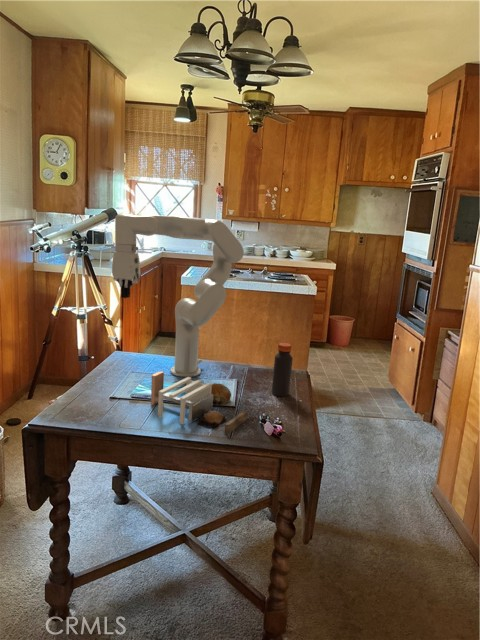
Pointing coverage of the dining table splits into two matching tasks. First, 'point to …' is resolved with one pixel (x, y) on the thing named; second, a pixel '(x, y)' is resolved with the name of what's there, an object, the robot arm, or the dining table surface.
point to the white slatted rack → (193, 394)
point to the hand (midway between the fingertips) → (125, 297)
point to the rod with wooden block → (194, 408)
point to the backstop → (235, 422)
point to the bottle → (282, 370)
